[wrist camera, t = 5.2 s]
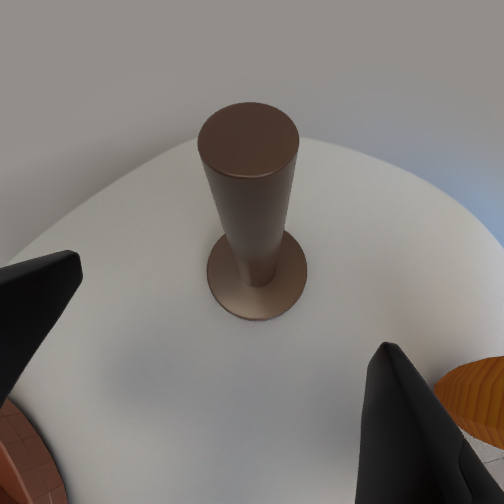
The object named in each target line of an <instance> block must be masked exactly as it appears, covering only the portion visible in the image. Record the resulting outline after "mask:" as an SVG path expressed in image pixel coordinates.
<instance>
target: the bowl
mask: <svg viewBox="0 0 504 504" xmlns="http://www.w3.org/2000/svg"><path fill="white" fill-rule="evenodd" d="M0 504H68V501H67V496H66V492H65V487H64V484H63V481H62V479H61V477H60V474H59V472H58V470H57V467H56V465H55V463H54V460H53V458H52V457H51V455H50V453H49V452H48V450H47V448H46V446H45V445H44V443H43V441H42V439H41V438H40V436H39V435H38V433H37V432H36V430H35V429H34V428H33V426H32V425H31V424H30V422H29V421H28V420H27V418H26V417H25V416H24V414H23V413H22V412H21V411H20V410H19V409H18V408H17V407H16V406H15V405H14V404H13V403H12V402H11V401H10V400H9V399H8V398H7V399H6V401H5V403H4V404H3V406H2V408H1V410H0Z"/></svg>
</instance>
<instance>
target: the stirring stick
mask: <svg viewBox="0 0 504 504" xmlns="http://www.w3.org/2000/svg"><path fill="white" fill-rule="evenodd" d="M298 148H299V134H298V131H297V128H296V126H295V124H294V123H293V121H292V120H291V119H290V118H289V117H288V116H287V115H286V114H285V113H284V112H282V111H281V110H279V109H277V108H275V107H273V106H270V105H267V104H262V103H256V102H245V103H238V104H233V105H230V106H227V107H225V108H222V109H221V110H219V111H217V112H215V113H214V114H213V115H212V116H210V117H209V119H207V121H206V122H205V123H204V125H203V126H202V128H201V130H200V133H199V136H198V151H199V154H200V157H201V160H202V164H203V167H204V170H205V173H206V176H207V179H208V182H209V185H210V189H211V192H212V195H213V198H214V201H215V204H216V207H217V210H218V213H219V216H220V219H221V222H222V225H223V228H224V231H225V234H224V235H223V236H222V237H221V238H220V239H219V240H218V241H217V243H216V244H215V245H214V247H213V249H212V251H211V253H210V256H209V259H208V263H207V280H208V284H209V287H210V290H211V292H212V294H213V296H214V297H215V299H216V300H217V302H218V303H219V304H220V305H221V306H222V307H223V308H224V309H225V310H227V311H228V312H229V313H231V314H232V315H234V316H236V317H239V318H241V319H245V320H250V321H264V320H269V319H272V318H275V317H278V316H280V315H282V314H283V313H285V312H286V311H287V310H289V309H290V308H291V307H292V306H293V305H294V304H295V302H296V301H297V300H298V299H299V297H300V295H301V294H302V292H303V289H304V287H305V284H306V279H307V263H306V259H305V255H304V253H303V251H302V249H301V247H300V245H299V244H298V242H297V241H296V240H295V239H294V238H293V237H292V236H291V235H290V234H289V233H288V232H286V231H285V230H284V225H285V220H286V215H287V209H288V204H289V198H290V193H291V187H292V182H293V176H294V171H295V165H296V159H297V153H298Z"/></svg>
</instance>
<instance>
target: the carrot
mask: <svg viewBox="0 0 504 504" xmlns="http://www.w3.org/2000/svg"><path fill="white" fill-rule="evenodd" d="M434 394H435V395H436V396H437V398H438V399H439V401H440V402H441V403H442V405H443V406H444V408H445V409H446V411H447V412H448V413H449V415H450V416H451V418H452V419H453V421H454V422H455V423H456V424H457V425H458V426H459V427H460V428H462V429H463V430H464V431H466V432H467V433H468V434H470V435H471V436H473V437H474V438H477V439H479V440H481V441H483V442H485V443H488V444H490V445H492V446H495V447H497V448H500V449H503V450H504V356H500V357H491V358H486V359H482V360H479V361H475V362H471V363H468V364H465V365H462V366H459V367H457V368H455V369H453V370H452V371H450V372H448V373H447V374H446V375H445V376H444V377H442V378H441V379H440V380H439V381H438V382H437V383H436V384H435V386H434Z"/></svg>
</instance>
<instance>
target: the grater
mask: <svg viewBox="0 0 504 504" xmlns="http://www.w3.org/2000/svg"><path fill="white" fill-rule="evenodd" d="M483 465H484V466H485V467H486V469H487V470H488V472H489V473H490V474H491V476H492V477H493V478H494V480H495V481H496V482H497V483H498V485H499V486H500V487H501V489H502V490H503V492H504V458H503V459H499V460H496V461H492V462H489V463H485V464H483Z"/></svg>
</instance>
